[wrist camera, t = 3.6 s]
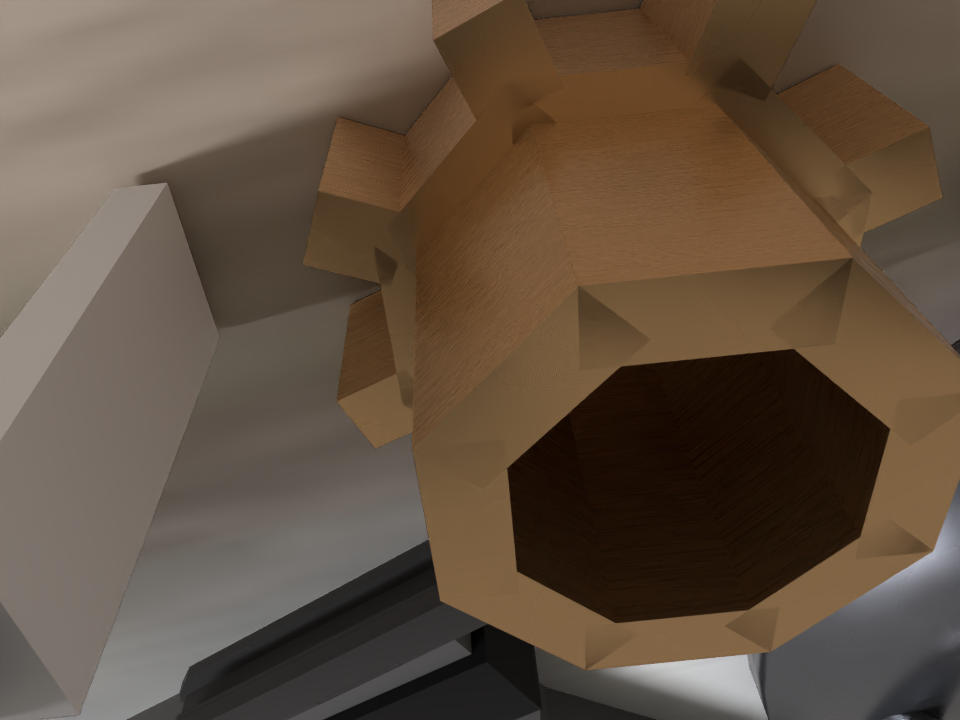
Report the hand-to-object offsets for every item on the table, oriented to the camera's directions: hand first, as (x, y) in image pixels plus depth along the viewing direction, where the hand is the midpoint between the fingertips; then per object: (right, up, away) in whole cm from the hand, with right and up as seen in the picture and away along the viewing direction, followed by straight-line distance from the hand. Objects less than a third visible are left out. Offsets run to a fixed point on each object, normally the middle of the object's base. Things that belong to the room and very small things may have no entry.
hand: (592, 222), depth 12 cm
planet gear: (0, 0, 0) cm, 0 cm away
